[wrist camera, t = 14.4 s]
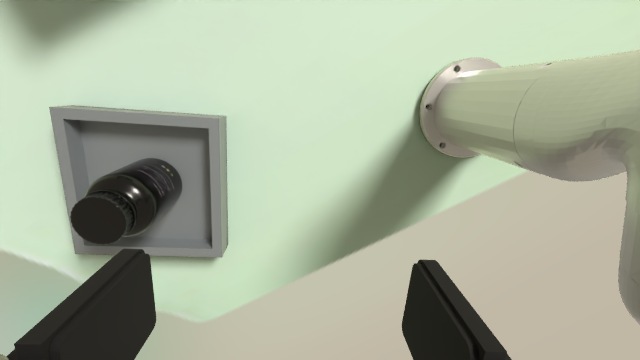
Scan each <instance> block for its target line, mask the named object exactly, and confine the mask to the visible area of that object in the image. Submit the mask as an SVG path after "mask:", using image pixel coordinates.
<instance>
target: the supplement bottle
mask: <svg viewBox="0 0 640 360" xmlns="http://www.w3.org/2000/svg"><path fill="white" fill-rule="evenodd" d="M181 192H182V180H181V177H180V175H179V173H178V171H177V170H176V169H175V168H174V167H173V166H172V165H171V164H169V163H168V162H166V161H164V160H161V159H157V158H145V159H141V160H138V161H136V162H134V163H131V164H129V165H127V166H125V167H122V168H120V169H118V170H116V171H113V172H111V173H109V174H107V175H104V176H102V177H100V178H99V179H97V180H95V181H94V182H93V183H92V184H91V185H90V186H89V188H88V189H87V191H86V194H85V197H84V198H82V199H80V200H79V201H78V202H77V203H75V205H74V207H73V208H72V211H71V212H70V213H71V216H70V219H71V221H70V222H71V223H72V227H73V228H74V230H75V232H77V234H78V235H79V236H81V237H82V238H83V239H85V240H86V241H88V242H91V243H96V244H102V245H104V244H110V243H114V242H116V241H118V240H120V239H121V238H122V237H129V236H134V235H137V234H140V233H142V232H144V231H145V230H146V229H148V228H149V227H150V226H151V225H152V224H153V223H154V222H155V221H156V220H158V219H159V218H160V217H161V216H162V215H163V214H164V213H165V212H166V211H167V210H168V209H169V208H170V207H171V206H172V205H173V204H174V203H175V202H176V201H177V200H178V199H179V197H180V195H181Z"/></svg>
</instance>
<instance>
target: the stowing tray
mask: <svg viewBox="0 0 640 360" xmlns="http://www.w3.org/2000/svg"><path fill="white" fill-rule="evenodd" d="M49 108H50V114H51V120H52V125H53V131H54V137H55V142H56V148H57V153H58V159H59V165H60V170H61V176H62V181H63V187H64V193H65V198H66V204H67V210H68V215H69V221H71V219H70V216H71V213H70V212H71V211H72V208H73V207H74V205H75V203H77V202H78V201H79V200H80V199H82V198H84V197H85V194H86V191H87V189H88V188H89V186H90V185H91V184H92V183H93V182H94V181H95V180H97V179H99V178H100V177H102V176H104V175H107V174H109V173H111V172H113V171H116V170H118V169H120V168H122V167H125V166H127V165H129V164H131V163H134V162H136V161H138V160H141V159H145V158H157V159H161V160H164V161H166V162H168V163H169V164H171V165H172V166H173V167H174V168H175V169H176V170H177V171H178V173H179V175H180V177H181V180H182V192H181V195H180V197H179V199H178V200H177V201H176V202H175V203H174V204H173V205H172V206H171V207H170V208H169V209H168V210H167V211H166V212H165V213H164V214H163V215H162V216H161V217H160V218H159V219H158V220H156V221H155V222H154V223H153V224H152V225H151V226H150V227H149V228H148V229H146V230H145V231H144V232H142V233H140V234H137V235H134V236H129V237H122V238H121V239H120V240H118V241H116V242H114V243H110V244H104V245H102V244H96V243H91V242H88V241H86V240H85V239H83V238H82V237H81V236H79V235H78V234H77V232H75V230H74V228H73V227H72V223H71V222H70V226H71V232H72V238H73V243H74V249H75V254H103V255H116V254H118V253H119V252H120V251H121V250H122V249H143V250H144V252H145V254H149V256H185V257H223V254H224V252H225V250H226V248H227V245H228V210H227V140H226V116H218V115H203V114H189V113H174V112H159V111H145V110H130V109H116V108H101V107H87V106H57V107H49Z"/></svg>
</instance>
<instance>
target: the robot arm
mask: <svg viewBox="0 0 640 360" xmlns="http://www.w3.org/2000/svg"><path fill="white" fill-rule="evenodd" d="M454 68H455V71H454ZM426 105H428V107H427V108H426ZM419 118H420V124H421V128H422V131H423V134H424V136H425V137H426V139H427V141H428V142H429V143H430V144H431V145H432V146H433V147H434V148H435V149H437V150H438V151H440V152H442V153H444V154H446V155H449V156H453V157H461V158H465V157H472V156H475V155H478V154H483V155H486V156H489V157H492V158H495V159H498V160H501V161H504V162H506V163H509V164H512V165H515V166H518V167H521V168H524V169H527V170H530V171H533V172H536V173H539V174H543V175H546V176H549V177H552V178H556V179H560V180H566V181H592V180H598V179H602V178H606V177H610V176H613V175H617V174H619V173H622V172H625V171H627V190H626V211H625V218H624V226H623V235H622V242H621V250H620V262H619V274H618V277H619V279H618V282H619V291H620V294H621V298H622V300H623V303H624V304H625V306H626V308H627V310H628V311H629V313H630V314H631V315H632V317H633V318H634V319H635V320H636V321H637V322H638V323H639V324H640V50H636V51H630V52H624V53H617V54H610V55H603V56H595V57H587V58H578V59H571V60H562V61H553V62H545V63H536V64H528V65H519V66H511V67H502V66H500V65H499V64H498V63H496V62H494V61H492V60H489V59H484V58H467V59H462V60H459V61H456V62H453V63H452V64H450V65H448V66H446V67H445V68H443V69H442V70H441V71H440V72H439V73H437V74H436V76H435V77H434V78H433V79H432V80H431V81H430V83H429V85H428V86H427V88H426V90H425V92H424V95H423V97H422V100H421V105H420V117H419ZM440 143H441V145H440V146H439V144H440ZM155 323H156V311H155V302H154V292H153V283H152V273H151V264H150V256H149V254H145V252H144V250H143V249H122V250H121V251H120V252H119V253H118V254H116V255H115V256H114V257H113V258H112V259H111V260H110V261H108V262H107V263H106V264H105V265H104V266H103V267H102V268H100V269H99V270H98V271H97V272H96V273H95V274H94V275H92V276H91V277H90V278H89V279H88V280H87V281H86V282H84V283H83V284H82V285H81V286H80V287H79V288H78V289H76V290H75V291H74V292H73V293H72V294H71V295H70V296H69V297H67V298H66V299H65V300H64V301H63V302H62V303H60V304H59V305H58V306H57V307H56V308H55V309H54V310H53V311H51V312H50V313H49V314H48V315H47V316H46V317H44V318H43V319H42V320H41V321H40V322H39V323H38V324H37V325H35V326H34V327H33V328H32V329H31V330H30V331H28V332H27V333H26V334H25V335H24V336H23V337H22V338H20V339H19V340H18V341H17V342H16V343H15V344H14V346H15V350H13V351H12V352H11V353H10V354H9V355H8V356H7V357H6V356H4V355H1V354H0V360H134V359H135V357H136V355H137V354H138V353H139V351H140V349H141V348H142V346H143V345H144V343H145V341H146V340H147V338H148V337H149V335H150V334H151V332H152V330H153V328H154V326H155ZM402 331H403V335H404V337H405V340H406V342H407V345H408V347H409V350H410V352H411V355H412V357H413V360H511V358H510V357H509V356H508V354H507V351H506V350H505V349H504V347H503V346H502V345H501V344H500V342H499V341H498V340H497V338H496V337H495V336H494V335H493V334H492V332H491V331H490V329H489V328H488V327H487V325H486V324H485V323H484V322H483V320H482V319H481V318H480V316H479V315H478V314H477V313H476V311H475V310H474V309H473V307H472V306H471V305H470V303H469V302H468V301H467V300H466V298H465V297H464V296H463V294H462V293H461V292H460V291H459V289H458V288H457V287H456V285H455V284H454V283H453V282H452V280H451V279H450V278H449V276H448V275H447V274H446V272H445V271H444V270H443V269H442V267H441V266H440V265H439V263H438V262H437V261H435V260H419V261H418V263H417V264H414V265H413V268H412V273H411V278H410V284H409V289H408V294H407V300H406V305H405V311H404V316H403V321H402Z"/></svg>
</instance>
